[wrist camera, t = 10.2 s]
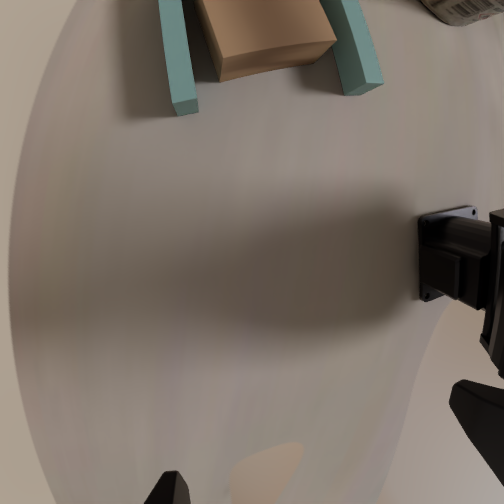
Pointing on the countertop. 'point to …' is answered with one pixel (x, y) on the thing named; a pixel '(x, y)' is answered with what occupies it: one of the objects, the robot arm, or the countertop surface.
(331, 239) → the countertop surface
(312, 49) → the walnut block
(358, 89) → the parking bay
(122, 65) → the countertop surface
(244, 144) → the countertop surface
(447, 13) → the spray can
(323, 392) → the countertop surface
